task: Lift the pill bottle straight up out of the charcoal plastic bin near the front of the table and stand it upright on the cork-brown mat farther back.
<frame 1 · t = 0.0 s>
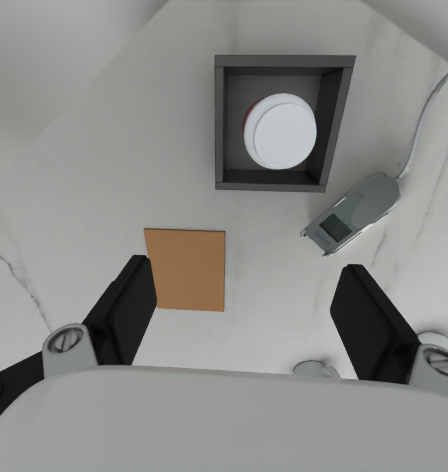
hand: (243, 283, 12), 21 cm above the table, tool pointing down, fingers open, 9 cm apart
bin: (269, 126, 27), on the table
cup 2: (430, 340, 43), on the table
cup: (314, 366, 49), on the table
pill bottle: (269, 126, 28), resting in bin
cork mat: (187, 273, 39), on the table
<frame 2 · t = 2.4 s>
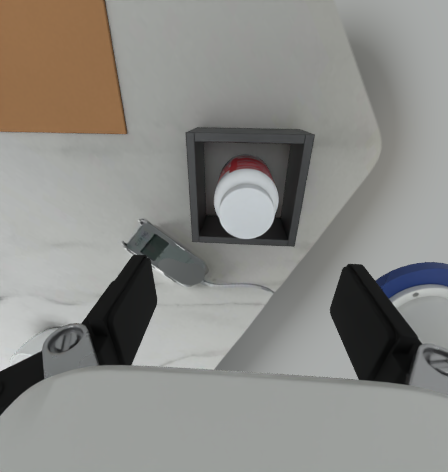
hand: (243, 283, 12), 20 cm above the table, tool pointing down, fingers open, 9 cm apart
bin: (245, 179, 29), on the table
cup 2: (60, 337, 47), on the table
pill bottle: (245, 179, 29), resting in bin
cork mat: (43, 71, 25), on the table
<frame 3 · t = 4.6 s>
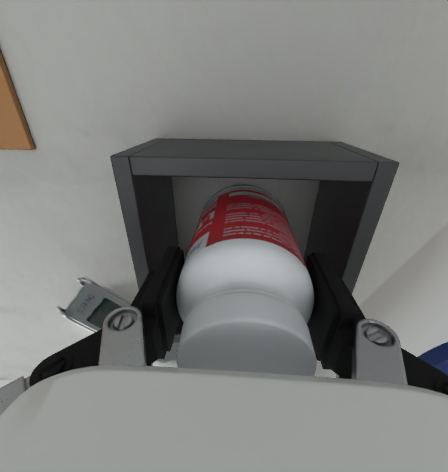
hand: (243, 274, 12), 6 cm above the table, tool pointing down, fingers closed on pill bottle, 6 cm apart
bin: (242, 223, 17), on the table
pill bottle: (242, 222, 18), resting in bin, touching gripper
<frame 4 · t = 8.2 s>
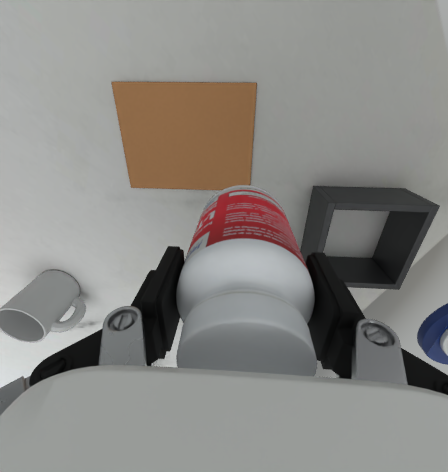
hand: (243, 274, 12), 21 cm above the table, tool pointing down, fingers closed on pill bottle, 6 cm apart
bin: (346, 227, 33), on the table
cup: (69, 287, 42), on the table
pill bottle: (242, 222, 18), point 15 cm above the table, touching gripper
cork mat: (187, 140, 29), on the table
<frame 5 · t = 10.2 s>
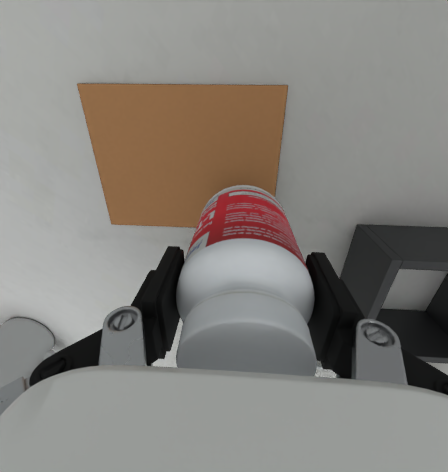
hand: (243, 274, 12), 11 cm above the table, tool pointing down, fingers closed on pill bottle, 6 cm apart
bin: (396, 274, 25), on the table
cup: (41, 336, 34), on the table
pill bottle: (242, 222, 18), point 5 cm above the table, touching gripper
cork mat: (186, 165, 21), on the table
when the fingers open (6 cm above the table, at t = 11.9 s): pill bottle stays where it is, resting on cork mat.
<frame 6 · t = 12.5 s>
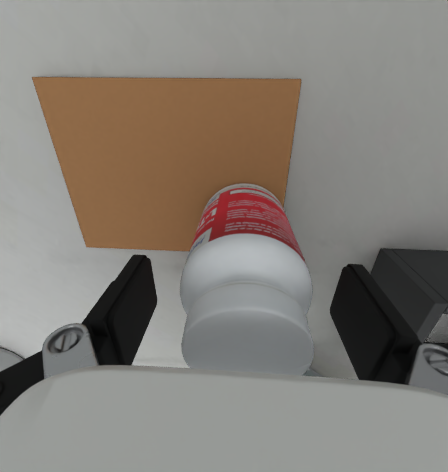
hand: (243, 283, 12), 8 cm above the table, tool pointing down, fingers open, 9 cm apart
bin: (424, 305, 21), on the table
cup: (16, 365, 30), on the table
pill bottle: (242, 220, 18), resting on cork mat
cork mat: (174, 178, 17), on the table
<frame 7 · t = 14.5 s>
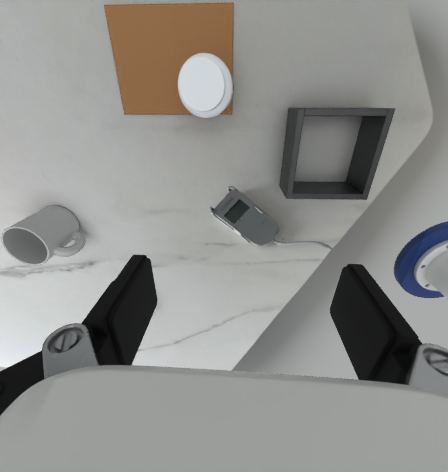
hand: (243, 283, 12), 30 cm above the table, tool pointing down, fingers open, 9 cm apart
bin: (321, 150, 37), on the table
cup: (69, 224, 45), on the table
pill bottle: (211, 90, 33), resting on cork mat
cork mat: (173, 64, 32), on the table
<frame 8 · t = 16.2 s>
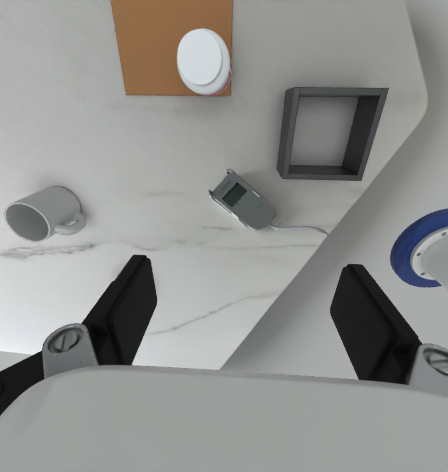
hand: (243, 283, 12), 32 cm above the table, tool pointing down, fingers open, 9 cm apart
bin: (317, 133, 37), on the table
cup: (71, 206, 46), on the table
pill bottle: (211, 71, 34), resting on cork mat
cork mat: (174, 45, 33), on the table
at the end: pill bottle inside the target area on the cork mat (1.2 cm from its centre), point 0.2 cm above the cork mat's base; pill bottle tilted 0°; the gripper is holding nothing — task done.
